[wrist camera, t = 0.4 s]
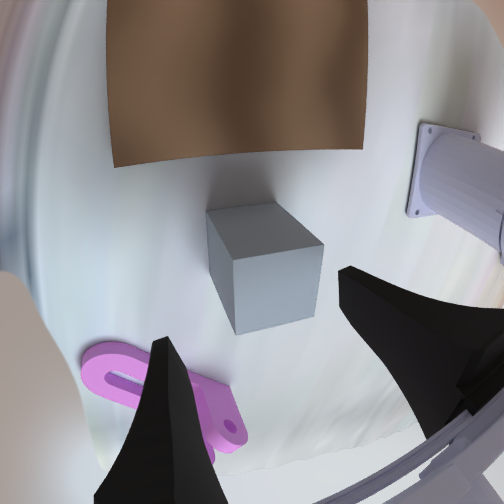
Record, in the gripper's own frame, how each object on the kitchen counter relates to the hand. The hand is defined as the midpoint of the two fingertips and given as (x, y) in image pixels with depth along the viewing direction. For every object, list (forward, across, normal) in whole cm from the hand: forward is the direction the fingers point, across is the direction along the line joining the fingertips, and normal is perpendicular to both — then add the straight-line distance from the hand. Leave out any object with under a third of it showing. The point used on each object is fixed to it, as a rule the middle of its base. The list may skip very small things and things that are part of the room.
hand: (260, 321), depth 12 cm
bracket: (+9, +9, +11) cm, 17 cm away
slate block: (+9, -2, +1) cm, 9 cm away
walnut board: (+9, -4, -11) cm, 15 cm away
